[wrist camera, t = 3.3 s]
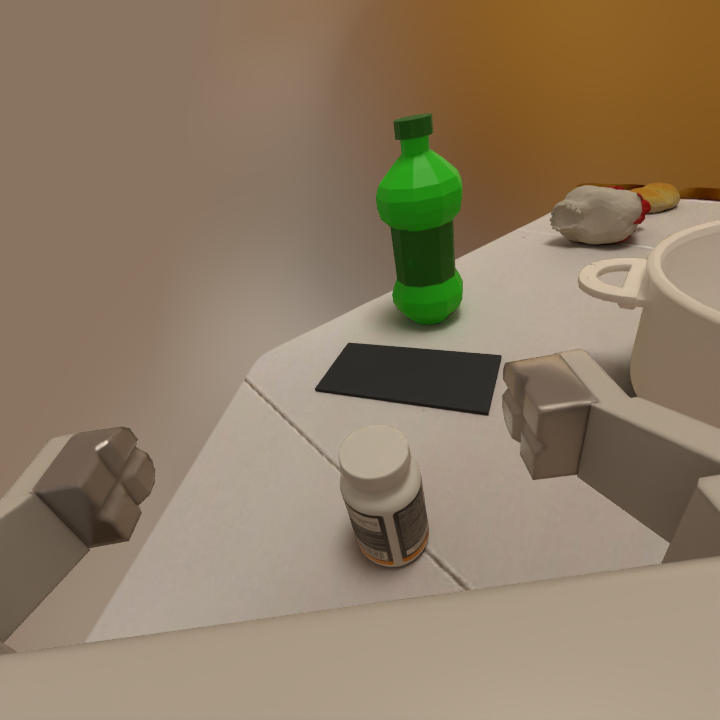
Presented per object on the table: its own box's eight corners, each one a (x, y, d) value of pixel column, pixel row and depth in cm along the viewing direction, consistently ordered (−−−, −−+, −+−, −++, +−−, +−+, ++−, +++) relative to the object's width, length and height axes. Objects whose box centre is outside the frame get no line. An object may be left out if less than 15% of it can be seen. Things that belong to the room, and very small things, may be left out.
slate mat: (315, 391, 49) (314, 388, 49) (348, 344, 56) (348, 342, 56) (488, 415, 41) (488, 412, 41) (501, 357, 48) (501, 355, 48)
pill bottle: (413, 494, 35) (399, 408, 29) (441, 555, 30) (431, 466, 25) (349, 517, 34) (323, 433, 29) (369, 582, 30) (342, 497, 24)
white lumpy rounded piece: (543, 241, 72) (603, 228, 77) (599, 258, 63) (663, 241, 68) (552, 186, 67) (616, 175, 72) (614, 196, 58) (682, 182, 63)
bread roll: (610, 208, 81) (614, 187, 79) (650, 197, 82) (655, 176, 80) (644, 218, 74) (649, 195, 72) (687, 206, 75) (694, 183, 73)
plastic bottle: (379, 321, 60) (347, 130, 46) (427, 292, 65) (412, 111, 51) (432, 342, 53) (413, 125, 39) (481, 308, 58) (480, 104, 44)
